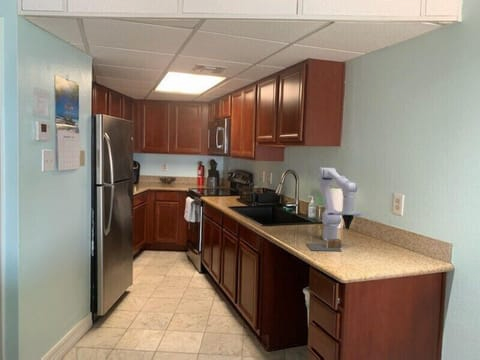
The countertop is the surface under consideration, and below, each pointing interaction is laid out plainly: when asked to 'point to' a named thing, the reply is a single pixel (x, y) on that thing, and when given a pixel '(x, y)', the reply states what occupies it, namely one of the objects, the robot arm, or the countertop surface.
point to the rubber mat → (321, 247)
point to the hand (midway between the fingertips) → (347, 228)
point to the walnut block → (332, 243)
